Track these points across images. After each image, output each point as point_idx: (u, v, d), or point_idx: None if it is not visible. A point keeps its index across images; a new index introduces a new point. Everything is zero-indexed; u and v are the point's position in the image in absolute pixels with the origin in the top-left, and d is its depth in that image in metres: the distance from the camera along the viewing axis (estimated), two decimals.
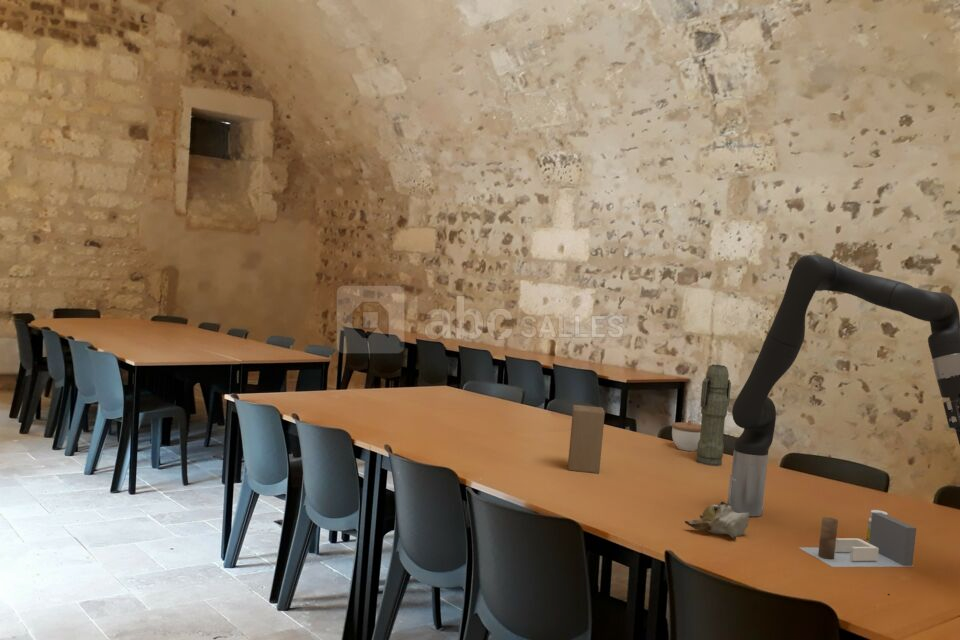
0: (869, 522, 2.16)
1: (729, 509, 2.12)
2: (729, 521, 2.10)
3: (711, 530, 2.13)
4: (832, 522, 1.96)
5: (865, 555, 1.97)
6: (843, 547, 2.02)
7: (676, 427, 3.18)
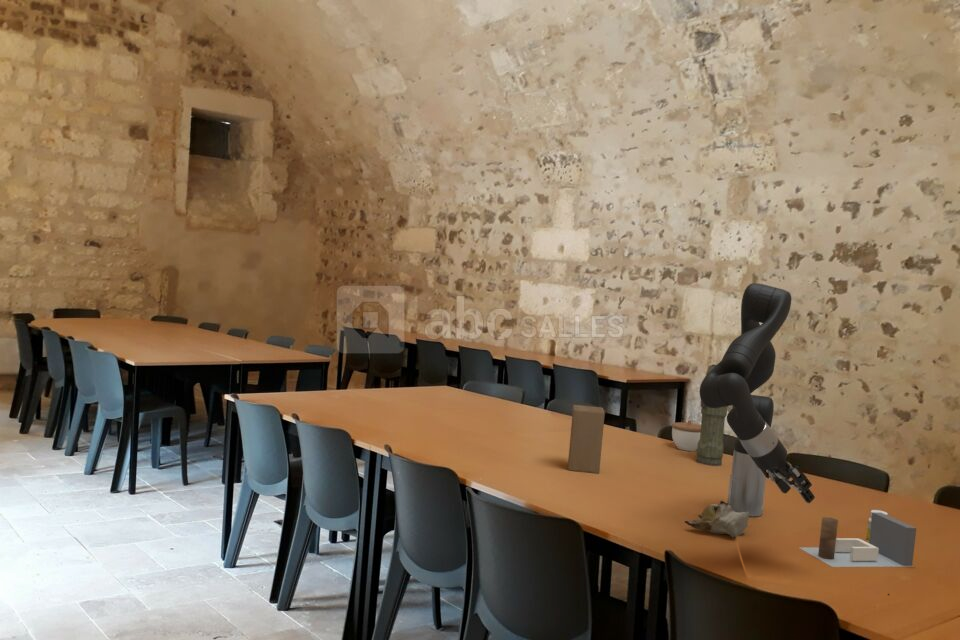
0: (869, 522, 2.16)
1: (729, 508, 2.13)
2: (730, 520, 2.10)
3: (711, 530, 2.13)
4: (832, 522, 1.96)
5: (865, 555, 1.97)
6: (843, 547, 2.02)
7: (676, 427, 3.18)
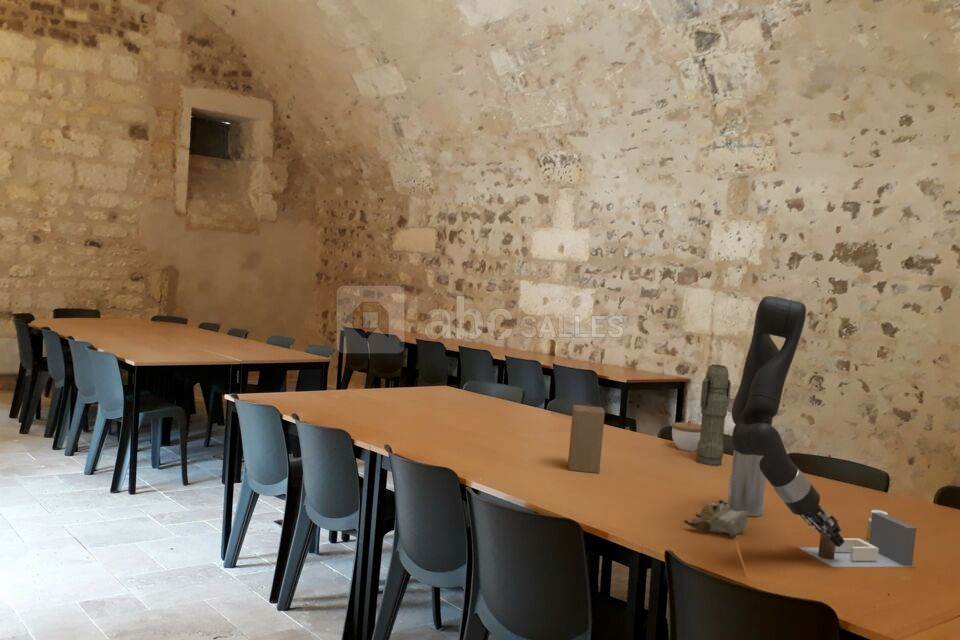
0: (869, 522, 2.16)
1: (728, 507, 2.13)
2: (729, 519, 2.11)
3: (710, 529, 2.14)
4: None
5: (865, 555, 1.97)
6: (843, 547, 2.02)
7: (676, 427, 3.18)
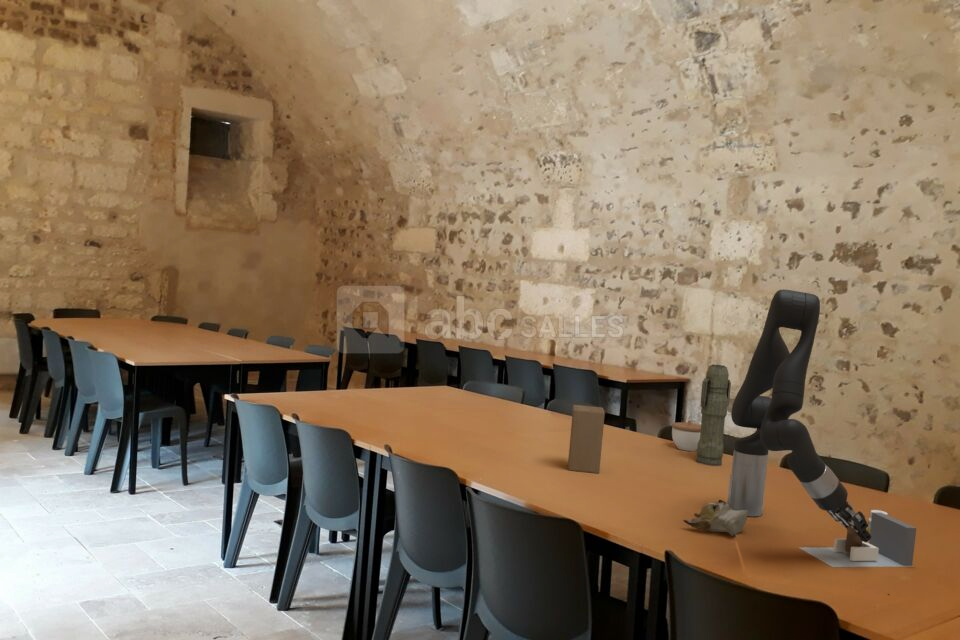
0: (869, 522, 2.16)
1: (727, 507, 2.14)
2: (729, 518, 2.12)
3: (710, 528, 2.14)
4: None
5: (865, 555, 1.97)
6: (843, 547, 2.02)
7: (676, 427, 3.18)
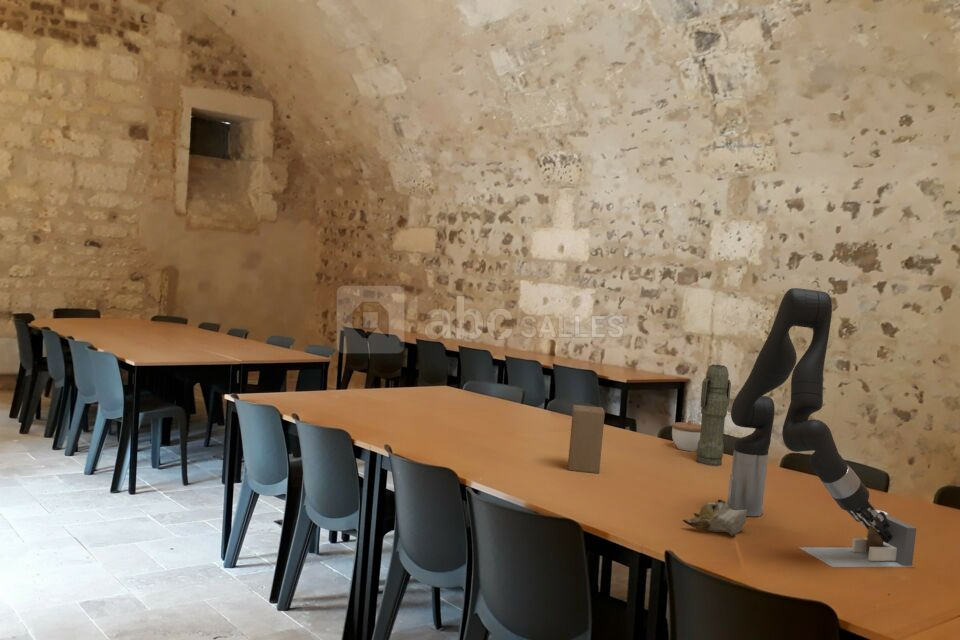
0: None
1: (727, 507, 2.14)
2: (728, 518, 2.12)
3: (709, 528, 2.14)
4: None
5: (883, 555, 1.98)
6: (861, 547, 2.03)
7: (676, 427, 3.18)
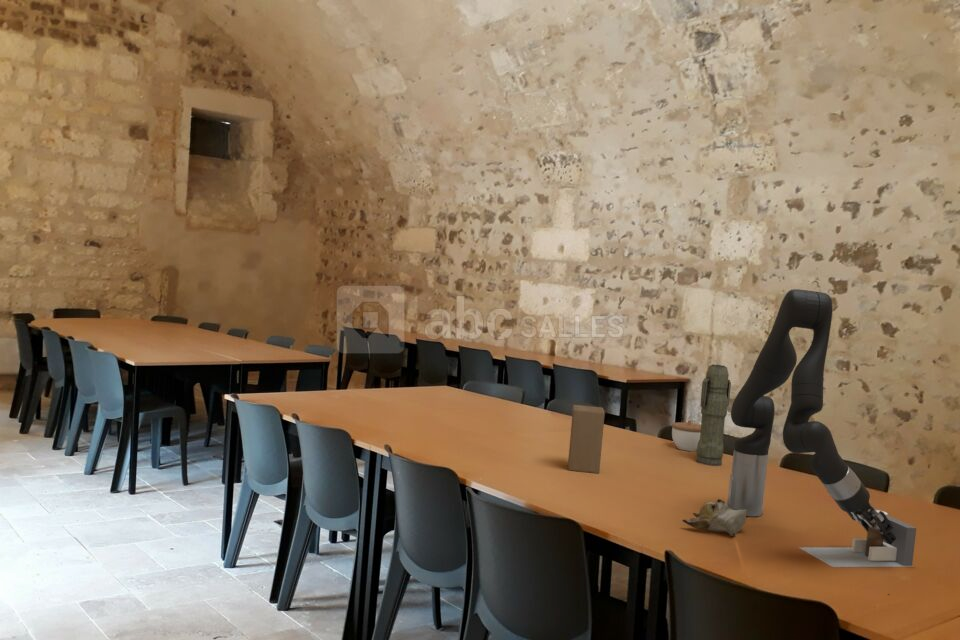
0: None
1: (726, 506, 2.14)
2: (728, 518, 2.12)
3: (709, 528, 2.15)
4: None
5: (883, 555, 1.98)
6: (861, 547, 2.03)
7: (676, 427, 3.18)
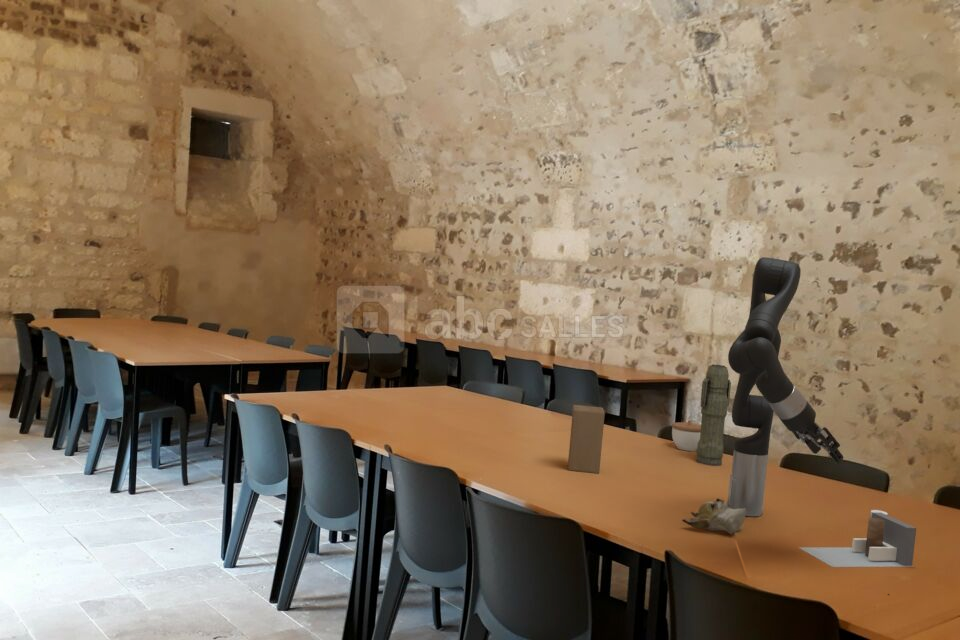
0: None
1: (725, 506, 2.15)
2: (727, 517, 2.13)
3: (708, 527, 2.15)
4: (879, 522, 1.99)
5: (883, 555, 1.98)
6: (861, 547, 2.03)
7: (676, 427, 3.18)
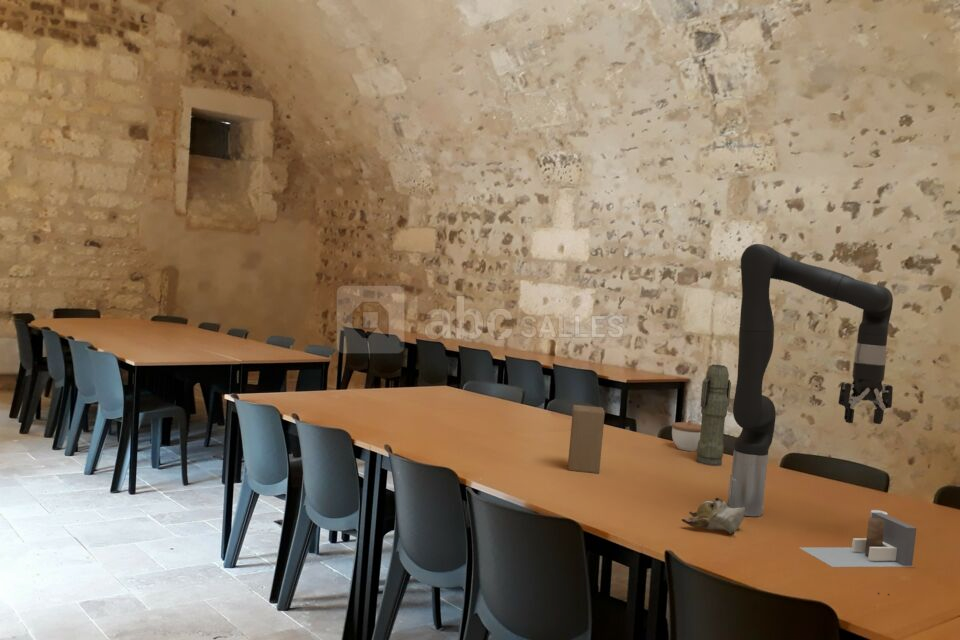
0: None
1: (725, 505, 2.16)
2: (727, 516, 2.13)
3: (708, 526, 2.16)
4: (879, 523, 1.99)
5: (883, 555, 1.98)
6: (861, 547, 2.03)
7: (676, 427, 3.18)
